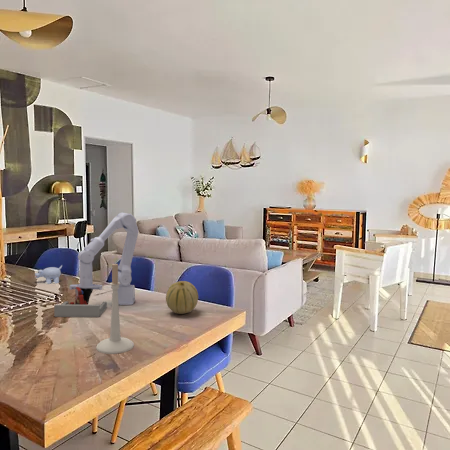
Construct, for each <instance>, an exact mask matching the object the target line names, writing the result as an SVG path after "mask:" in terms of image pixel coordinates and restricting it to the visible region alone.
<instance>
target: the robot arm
mask: <svg viewBox="0 0 450 450" xmlns="http://www.w3.org/2000/svg"><path fill="white" fill-rule="evenodd" d="M117 229H123V230H125V232H126V236H125V240H124V246H123V249H122V253H121V258H120V262H119V264H118V282H119V283H120V284H119V288H118V291H117V292H118V303H119V305H121V306H123V305H124V306H131V305H133V304H134V303H135V301H136V287H135V284H131V282H132V267H131V266H132V261H133V257H134V253H135V249H136V244H137V239H138V236H139V227H138V224H137V218H136V217H135V216H134V215H133V214H132V213H129V212H128V213H127V212H124V211H123V212H122V211H121V212H118V214H117V215H116V216H114V217H113V218H112V220H111V221H110V222H109V224H108V225H107V226H106V227H105V229H103V231H102V233H100V234H99V236H96V237H94V238H91V239H90V240H89V243H88V244H87V245H86V246H84V247H83V249H82V250H80V251H79V253H78V255H77V259H78V260H79V268H78V269H79V270H78V272H79V273H78V274H79V284H70V285H69V290H70V291H71V290H75V288H76V287H79V288H80V289H81V290H82V291H83V299H84V301H86V303H87V304H88V305H89V303H90V298H91V295H92V293H93V291H94V290H97V291H98V290H99V291H101V290H102V291H103V284H97V283H96V284H95V283H94V284H93V261H94V259H95V256H96V255H97V254H98V253H99V252H100V250H101V249H103V247H105V241H106V240H107V239H108V238H109V237H110V236H111V235H112V234H113V233H114V232H115V231H116V230H117Z"/></svg>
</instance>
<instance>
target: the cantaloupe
mask: <svg viewBox="0 0 450 450" xmlns="http://www.w3.org/2000/svg"><path fill="white" fill-rule="evenodd" d="M198 301H199V293H198V289H197V288H196V286H195V285H194V284H193V283H191V282H189V281H186V280H180V281H176V282H174V283H172V284H171V285H170V286H169V287H168V290H167V292H166V295H165V303H166V306H167V307H168V309H169V310H170V311H172V312H173V313H175V314H179V315H184V314H188V313H191V312H192V311H194V309H196V307H197V305H198Z"/></svg>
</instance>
